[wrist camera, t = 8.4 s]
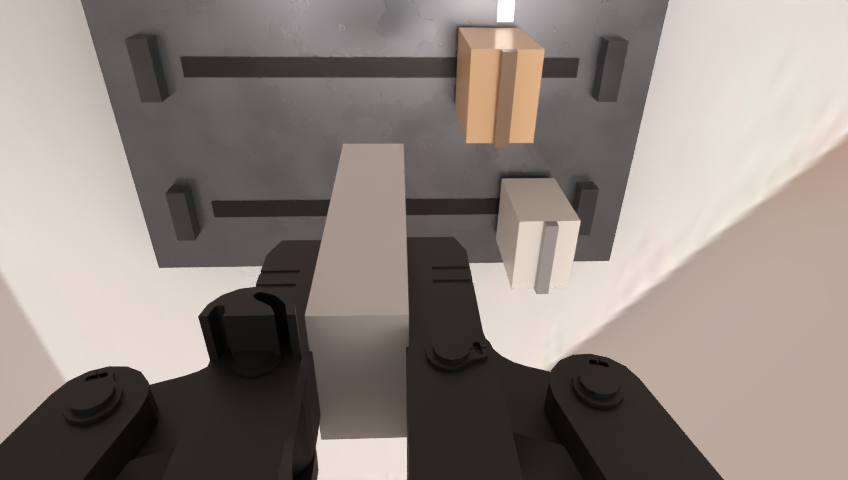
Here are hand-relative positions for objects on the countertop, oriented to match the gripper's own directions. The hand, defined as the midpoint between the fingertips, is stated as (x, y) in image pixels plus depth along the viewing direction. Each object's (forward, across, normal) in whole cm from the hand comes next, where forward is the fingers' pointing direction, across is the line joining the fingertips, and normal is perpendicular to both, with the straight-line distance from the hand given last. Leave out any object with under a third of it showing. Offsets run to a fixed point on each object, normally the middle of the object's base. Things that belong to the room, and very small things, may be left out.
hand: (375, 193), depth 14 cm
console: (+17, 0, -5) cm, 18 cm away
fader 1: (+15, +5, -1) cm, 16 cm away
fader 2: (+15, +8, -9) cm, 19 cm away
